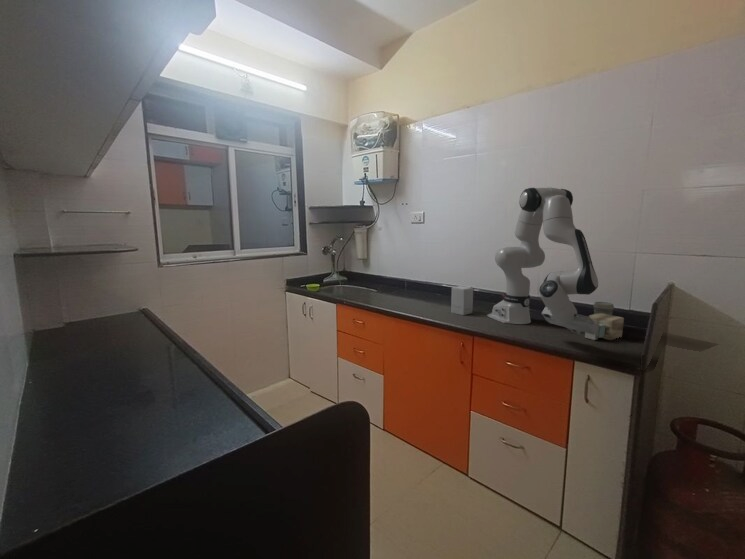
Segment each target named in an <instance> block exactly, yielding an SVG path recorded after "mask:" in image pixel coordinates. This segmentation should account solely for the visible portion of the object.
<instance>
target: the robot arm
mask: <svg viewBox="0 0 745 559" xmlns="http://www.w3.org/2000/svg"><path fill="white" fill-rule="evenodd" d="M573 201H574V196H573V194H572V191H570V190H568V189H564V188H556V187H528V188H525V189H524V190H523V191H522V192H521V194H520V197H519V202H518V203H519V207H520V208H521V209H520V213H519V215H518V219H517V222H516V227H515V229H514V236H515V238H517V239H518V240H519V241H520V245H519V246H506V247H503V248H499V249H498V250H497V251H496V253H495V256H494V260H495V263H496V265H497V266H498V267H499V268H500V269H501V270H502V271H503V273H504V275H505V278H506V291H505V293H503V294H502V295H501V297H502V298H503V299H502V300H501V301H499V302H497V303H496V304H494V305H493V307H492V310H491V311H492V312H490V313H488V314H487V317H488V318H489V319H490V318H491V319H493V320H495V321H498V322H499V323H501V324H502V323H503V324H515V325H528V324H530V323H532V320H531V315H530V302H531V295H530V291H531V290H530V289H531V280H530V279H529V278H528V276H525V275H524V274H523V272H522V269H530V268H531V269H532V268H535V267H540V266H542V265H543V264H544V262H545V259H546V255H545V254H546V253H545V251H544V250H543V248H541V246H540V243H539V242H540V241H539V239H540V238H539V237H540V233H541V228H542V230H543V234H544V236H545V237H546V239H548V240H550V241H552V242H554V243H558V244H563V245H568V246H571V247H572V248H573V250H574V252H575V258H576V260H577V265H578V268H577V269H572V270H560V271H559V270H558V271H557V270H556V271H550V272H549V273H548V274H547V275H546V276H545V278H544V279H543V283H541V285H540V287H539V289H538V292H539V296H540V298H541V301H542V303H543V304H544V306H545V307H544V309H543V310H542V311H541V315H542V316H543V318H544V320H545V321H546V322H548V324H553V325H556V326H560V327H563V328H566V329H568V330H569V331H570V332H571V333H573V334H577V335H580V334H581V333H585V332H586V333H590V334H595V333H596V332H597V330H598V325H597V324H596V323H595V322H594V320H593V319H592V318H590V317H589V315H588V316H587V315H583V314H578V309H577V308H576V307H575V304H574V303H573V302H572V300H570V296H569V295H591V294H592V293H594V292H595V291H596V290H597V289H598V287H599V278H598V275H597V273H596V271H595V268H594V265H593V261H592V259H591V254H590V251H589V250H590V249H589V246H588V243H587V241H586V236H585V235H584V233H583V231H582V230H581V229H578V228H576V226H575V224H574V219H573V218H574V216H573V210H572V206H573Z"/></svg>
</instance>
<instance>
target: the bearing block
mask: <svg viewBox="0 0 745 559" xmlns="http://www.w3.org/2000/svg"><path fill="white" fill-rule="evenodd" d="M588 317H590V318H592V319H593V320H596V321H599V323H600V324H605V335H604V337H601V339H605V340H609V341H613V340H616V338H617V339H619V337H620V338H622V337H623V330H624V322H625V321H624V320H625V318H624V317H622V316H616V315H613V314H612V315H608V314H603V313H597V314H594V313H592V314H590V315H588Z"/></svg>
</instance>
